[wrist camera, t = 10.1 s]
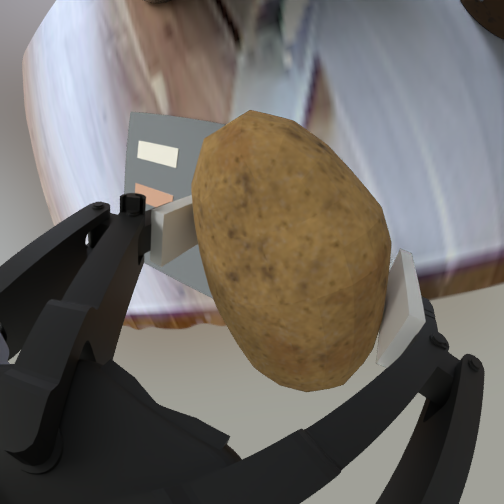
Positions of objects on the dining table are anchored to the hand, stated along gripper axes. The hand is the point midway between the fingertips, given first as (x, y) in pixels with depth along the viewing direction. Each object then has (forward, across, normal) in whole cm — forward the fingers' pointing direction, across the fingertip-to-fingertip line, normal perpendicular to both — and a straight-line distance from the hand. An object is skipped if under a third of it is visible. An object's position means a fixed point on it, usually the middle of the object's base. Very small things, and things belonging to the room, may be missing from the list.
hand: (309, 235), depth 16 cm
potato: (+1, 0, 0) cm, 1 cm away
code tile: (+11, -19, -7) cm, 23 cm away
